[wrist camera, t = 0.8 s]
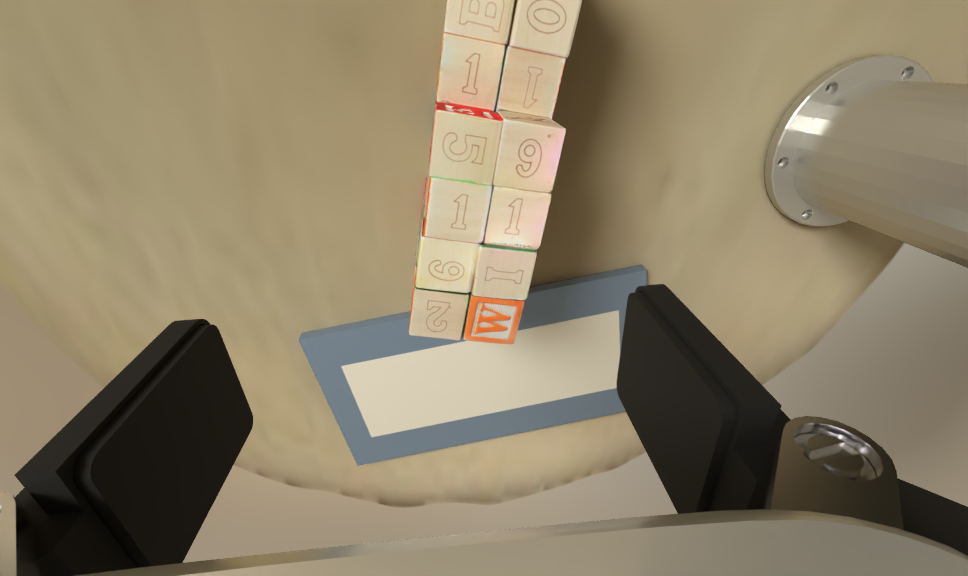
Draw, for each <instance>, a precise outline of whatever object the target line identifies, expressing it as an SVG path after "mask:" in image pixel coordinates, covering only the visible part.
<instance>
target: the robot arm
mask: <svg viewBox="0 0 968 576" xmlns="http://www.w3.org/2000/svg"><path fill="white" fill-rule="evenodd" d="M765 184H766V188H767V193H768V195H769V197H770V199H771V201H772V203H773V205H774V206H775V207H776V208H777V209H778V210H779V211H780V213H782V214H784V215H785V216H787V217H788V218H790V219H792V220H794V221H796V222H799V223H801V224H805V225H810V226H832V225H836V224H841V223H844V222H847V221H852V222H855V223H857V224H860V225H862V226H865V227H867V228H870V229H872V230H875V231H877V232H880V233H882V234H885V235H887V236H890V237H892V238H895V239H897V240H900V241H902V242H905V243H907V244H910V245H912V246H915V247H917V248H920V249H922V250H925V251H927V252H930V253H932V254H935V255H937V256H940V257H942V258H945V259H947V260H950V261H952V262H955V263H957V264H960V265H963V266H965V267H967V268H968V84H954V83H935V82H933V81H932V79H931V77H930V75H929V74H928V72H927V71H926V70H925V69H924V68H923V67H922V66H921V65H920V64H918V63H917V62H915V61H913V60H910V59H908V58H906V57H901V56H894V55H872V56H867V57H862V58H857V59H854V60H851V61H849V62H846V63H844V64H841V65H839V66H837V67H836V68H834V69H832V70H831V71H829V72H827V73H826V74H824V75H822V76H821V77H820V78H819V79H817V80H816V81H815V82H814V83H812V84H811V85H810V86H809V87H808V88H807V89H806V90H805V91H804V92H803V93H802V94H801V95H800V96H799V97H798V98H797V99H796V100H795V101H794V102H793V104H792V105H791V107H790V108H789V109H788V111H787V112H786V113H785V115H784V116H783V118H782V119H781V121H780V123H779V125H778V127H777V129H776V131H775V133H774V134H773V137H772V140H771V143H770V146H769V148H768V152H767V157H766V162H765ZM616 385H617V393H618V396H619V399H620V401H621V403H622V405H623V406H624V408H625V410H626V412H627V414H628V416H629V418H630V420H631V422H632V424H633V426H634V428H635V430H636V432H637V434H638V436H639V438H640V440H641V442H642V444H643V446H644V448H645V450H646V452H647V454H648V456H649V457H650V460H651V462H652V463H653V465H654V467H655V469H656V471H657V473H658V475H659V477H660V479H661V481H662V483H663V485H664V487H665V489H666V491H667V493H668V495H669V497H670V499H671V501H672V503H673V505H674V507H675V509H676V511H677V513H678V514H671V515H659V516H647V517H633V518H621V519H611V520H601V521H590V522H580V523H570V524H559V525H548V526H539V527H528V528H517V529H507V530H497V531H486V532H477V533H466V534H456V535H446V536H437V537H426V538H417V539H407V540H397V541H387V542H377V543H368V544H358V545H348V546H339V547H329V548H320V549H309V550H299V551H290V552H281V553H272V554H262V555H253V556H244V557H234V558H225V559H216V560H206V561H197V562H188V563H182V562H183V560H184V558H185V556H186V555H187V553H188V551H189V549H190V547H191V545H192V543H193V541H194V539H195V537H196V535H197V533H198V531H199V530H200V528H201V526H202V524H203V522H204V520H205V518H206V516H207V514H208V512H209V510H210V508H211V506H212V504H213V503H214V501H215V499H216V497H217V495H218V493H219V491H220V489H221V487H222V485H223V483H224V482H225V480H226V478H227V476H228V474H229V472H230V470H231V468H232V466H233V464H234V462H235V460H236V458H237V457H238V455H239V453H240V451H241V449H242V447H243V445H244V443H245V441H246V439H247V437H248V435H249V434H250V432H251V429H252V426H253V415H252V412H251V409H250V407H249V404H248V402H247V399H246V397H245V394H244V392H243V389H242V387H241V384H240V382H239V379H238V377H237V374H236V372H235V369H234V367H233V364H232V362H231V359H230V357H229V354H228V352H227V349H226V347H225V344H224V342H223V339H222V337H221V334H220V332H219V330H218V328H217V327H216V326H215V325H210V323H209V322H208V321H207V320H205V319H195V320H181V321H174V322H172V323H171V324H170V325H169V326H168V327H167V328H166V329H165V330H164V331H163V332H161V333H160V334H159V335H158V336H157V337H156V338H155V339H154V340H153V341H152V342H151V343H150V344H149V345H148V346H147V347H146V348H145V349H144V350H143V351H142V352H141V353H140V354H139V355H138V356H137V357H136V358H135V359H134V360H133V361H132V362H131V363H130V364H129V365H127V366H126V367H125V368H124V369H123V370H122V371H121V372H120V373H119V374H118V375H117V376H116V377H115V378H114V379H113V380H112V381H111V382H110V383H109V384H108V385H107V386H106V387H105V388H104V389H103V390H102V391H101V392H100V393H99V394H98V395H97V396H96V397H95V398H94V399H92V400H91V401H90V402H89V403H88V404H87V405H86V406H85V407H84V408H83V409H82V410H81V411H80V412H79V413H78V414H77V415H76V416H75V417H74V418H73V419H72V420H71V421H70V422H69V423H68V424H67V425H66V426H65V427H64V428H63V429H62V430H61V431H60V432H59V433H57V434H56V435H55V436H54V437H53V438H52V439H51V440H50V441H49V442H48V443H47V444H46V445H45V446H44V447H43V448H42V449H41V450H40V451H39V452H38V453H37V454H36V455H35V456H34V457H33V458H32V459H31V460H30V461H29V462H28V463H27V464H26V465H25V466H23V468H21V470H20V471H18V472H17V473H16V474H15V476H16V478H17V479H18V480H19V481H20V482H21V484H22V485H23V486H24V487H25V488H24V489H23V490H22V491H21V492H20V493H19V494H18V495H17V496H16V497H14V496H13V495H11V494H9V493H7V492H4V491H0V576H968V507H966V506H964V505H961V504H959V503H957V502H954V501H952V500H949V499H947V498H944V497H942V496H939V495H937V494H935V493H932V492H930V491H927V490H925V489H922V488H920V487H917V486H915V485H913V484H910V483H907V482H905V481H903V480H900V479H898V478H897V472H896V469H895V466H894V463H893V461H892V459H891V458H890V457H889V455H888V454H887V453H886V452H885V450H884V449H883V448H882V447H881V446H879V445H878V444H877V443H876V442H875V441H873V440H872V439H871V438H869V437H868V436H866V435H865V434H863V433H861V432H860V431H858V430H856V429H854V428H852V427H850V426H847V425H845V424H843V423H840V422H838V421H834V420H830V419H826V418H822V417H811V416H805V417H798V418H794V419H792V420H790V419H789V418H788V417H787V416H786V414H785V413H784V412H783V411H782V410H781V409H780V408H781V405H780V404H779V403H778V402H777V400H776V399H775V398H774V397H773V396H772V395H771V394H770V393H769V392H768V391H767V390H766V389H765V388H764V387H763V386H762V385H761V384H760V383H759V382H758V381H757V380H756V379H755V378H754V377H753V376H752V374H751V373H750V372H749V371H748V370H747V369H746V368H745V367H744V366H743V365H742V364H741V363H740V362H739V361H738V360H737V359H736V358H735V357H734V356H733V355H732V354H731V353H730V352H729V351H728V350H727V349H726V347H725V346H724V345H723V344H722V343H721V342H720V341H719V340H718V339H717V338H716V337H715V336H714V335H713V334H712V333H711V332H710V331H709V330H708V329H707V328H706V327H705V326H704V325H703V324H702V323H701V321H700V320H699V319H698V318H697V317H696V316H695V315H694V314H693V313H692V312H691V311H690V310H689V309H688V308H687V307H686V306H685V305H684V304H683V303H682V302H681V301H680V300H679V299H678V298H677V297H676V296H675V294H674V293H673V292H672V291H671V290H670V289H669V288H668V287H667V286H666V285H664V284H659V285H646V286H638V287H637V288H636V290H635V292H634V293H630V294H629V296H628V300H627V307H626V315H625V322H624V330H623V337H622V345H621V352H620V360H619V367H618V375H617V384H616Z"/></svg>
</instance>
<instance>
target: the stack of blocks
mask: <svg viewBox="0 0 968 576" xmlns="http://www.w3.org/2000/svg"><path fill="white" fill-rule="evenodd" d="M581 4H582V0H447V6H446V16H445V25H444V34H443V39H442V47H441V56H440V65H439V74H438V83H437V97H436V103H435V112H434V121H433V129H432V137H431V147H430V159H429V167H428V175H427V178H426V184H425V192H424V199H423V207H422V214H421V219H420V226H419V234H418V242H417V250H416V259H415V275H414V284H413V293H412V304H411V314H410V324H409V334H410V335H412V336H423V337H433V338H443V339H451V340H460V339H461V338H463V339H464V340H467V341H474V342H486V343H498V344H514V343H515V339H516V335H517V331H518V327H519V322H520V319H521V315H522V311H523V307H524V300H526V298H527V296H528V292H529V288H530V283H531V279H532V274H533V270H534V266H535V261H536V257H537V249H538V248H539V247H540V245H541V241H542V237H543V232H544V228H545V224H546V219H547V215H548V211H549V206H550V202H551V191H552V189H553V186H554V182H555V178H556V173H557V169H558V164H559V160H560V156H561V152H562V147H563V143H564V138H565V134H566V128H563V127H562V126H561V125H559V124H558V123H556V122H555V121H553V120H552V118H553V114H554V110H555V106H556V101H557V97H558V93H559V89H560V84H561V80H562V76H563V72H564V68H565V63H566V59H567V58H568V57H569V54H570V50H571V46H572V42H573V38H574V34H575V30H576V26H577V21H578V17H579V13H580V8H581Z"/></svg>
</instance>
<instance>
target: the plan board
mask: <svg viewBox="0 0 968 576" xmlns="http://www.w3.org/2000/svg"><path fill="white" fill-rule="evenodd" d="M646 285H647V270H646V269H645V268H644V267H643V265H638V266H633V267H628V268H623V269H618V270H613V271H608V272H603V273H599V274H594V275H589V276H584V277H579V278H574V279H569V280H564V281H559V282H554V283H549V284H544V285H539V286H534V287H530V288H529V292H528V296H527V298H526V300H524V307H523V311H522V315H521V319H520V322H519V327H518V331H517V335H516V339H515V343H514V344H498V343H486V342H474V341H467V340H464V339H463V338H461V339H460V340H451V339H443V338H433V337H423V336H412V335H410V334H409V324H410V314H411V311H410V312H405V313H400V314H395V315H390V316H385V317H380V318H375V319H370V320H365V321H360V322H355V323H350V324H345V325H340V326H335V327H331V328H326V329H321V330H316V331H311V332H306V333H302V334H301V336H300V338H299V342H300V344H301V346H302V348H303V351H304V353H305V355H306V357H307V359H308V361H309V363H310V365H311V368H312V370H313V372H314V374H315V376H316V378H317V380H318V382H319V385H320V387H321V389H322V391H323V393H324V395H325V397H326V399H327V401H328V404H329V406H330V408H331V410H332V412H333V414H334V416H335V418H336V421H337V423H338V425H339V427H340V429H341V431H342V433H343V435H344V438H345V440H346V442H347V444H348V446H349V448H350V450H351V452H352V454H353V457H354V459H355V461H356V463H357V465H358V466H359V465H364V464H369V463H374V462H379V461H383V460H388V459H393V458H398V457H403V456H408V455H413V454H418V453H423V452H428V451H433V450H438V449H443V448H448V447H453V446H458V445H463V444H468V443H473V442H478V441H483V440H488V439H493V438H498V437H502V436H507V435H512V434H517V433H522V432H527V431H532V430H537V429H542V428H547V427H552V426H557V425H562V424H567V423H572V422H577V421H582V420H587V419H592V418H597V417H602V416H607V415H612V414H617V413H621V412H626V410H625V408H624V406H623V405H622V403H621V401H620V399H619V396H618V393H617V385H616V384H617V375H618V367H619V360H620V352H621V345H622V337H623V330H624V322H625V315H626V307H627V300H628V296H629V294H630V293H634V292H635V290H636V288H637V287H638V286H646Z"/></svg>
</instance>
